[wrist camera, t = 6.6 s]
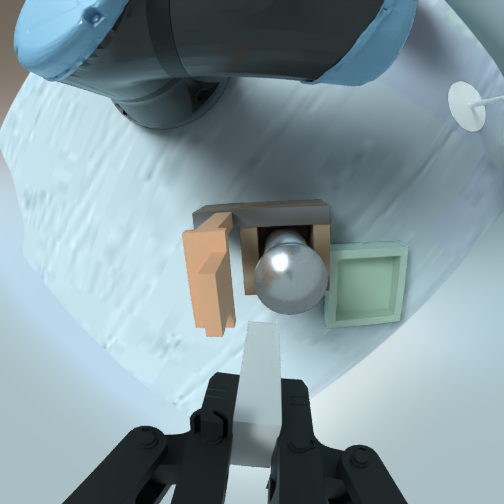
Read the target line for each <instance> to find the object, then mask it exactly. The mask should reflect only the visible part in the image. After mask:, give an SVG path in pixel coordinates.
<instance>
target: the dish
mask: <svg viewBox="0 0 504 504" xmlns="http://www.w3.org/2000/svg"><path fill="white" fill-rule="evenodd" d="M407 259H408V247H407V246H406V245H404V244H403V243H401V242H400V241H390V242H367V243H345V244H330V289H329V291H325V293H324V320H325V323H326V326H327V328H340V327H351V326H361V325H371V324H380V323H388V322H397V321H400V316H401V310H402V303H403V296H404V288H405V279H406V270H407Z"/></svg>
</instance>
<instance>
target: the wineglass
mask: <svg viewBox="0 0 504 504" xmlns="http://www.w3.org/2000/svg"><path fill="white" fill-rule="evenodd" d="M499 102H504V95H503V96H498V97H494V98H489V99H485V100H482V98H481V97H480V95H479V93H478V92H477V91H476V90H475V89H474V87H473V86H471V85H470V84H468V83H466V82H462V81H459V82H455V83H454V84H453V85H451V87H450V89H449V92H448V103H449V108H450V110H451V113H452V115H453V117H454V119H455V120H456V122H457V123H458V124H459V125H460V126H461V127H462V128H464V129H465V130H467V131H471V132H476V131H479V130H480V129H481V128H482V127H483V125H484V122H485V117H486V112H485V106H484V105H489V104H494V103H499Z"/></svg>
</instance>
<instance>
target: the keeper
mask: <svg viewBox="0 0 504 504" xmlns="http://www.w3.org/2000/svg"><path fill="white" fill-rule="evenodd" d="M232 229H233V222H232V212H222V213H215V214H214V215H212V216H211V217H210V218H209V219H207V220H206V221H205V222H204V223H203V224H201V225H200V226H199V227H198V228H197V229H196V230H186V231H184V232H183V233H182V237H183V245H184V253H185V260H186V267H187V274H188V281H189V288H190V295H191V301H192V307H193V313H194V319H195V325H196V328H205V330H206V336H207V337H223V334H224V331H225V328H234V327H235V323H236V318H235V308H234V298H233V288H232V278H231V268H230V257H229V246H228V235H229V234H230V232H231V230H232Z"/></svg>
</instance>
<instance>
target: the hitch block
mask: <svg viewBox="0 0 504 504" xmlns="http://www.w3.org/2000/svg"><path fill="white" fill-rule="evenodd" d="M222 212H232V222H233V228H240V239H241V252H242V264H243V276H244V288H245V295H257V293H256V291H255V287H254V275H255V269H256V266H257V263H258V261H259V260H260V258H261V257H262V255H263V254H264V250H265V238H266V234H267V232H268V230H269V229H270V228H271V227H272V226H288V225H296V226H297V227H298V228H299V229H300V231H301V233H302V235H303V237H304V239H305V242H306V244H307V246H309V247H310V248H312V249H313V250H314V251H316V253H317V254H318V255H319V256H320V258H321V259H322V261H323V263H324V265H325V267H326V270H327V275H328V283H327V288H326V291H329V289H330V205H328V204H326V203H325V202H323V201H322V200H293V201H272V202H254V203H232V204H218V205H205V206H204V207H202V208H200V209H199V210H197V211H195V212H194V213H192V215H193V224H194V230H196V229H197V228H198V227H199V226H200V225H201V224H203V223H204V222H205V221H206V220H207V219H209V218H210V217H211V216H212V215H214V214H215V213H222Z"/></svg>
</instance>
